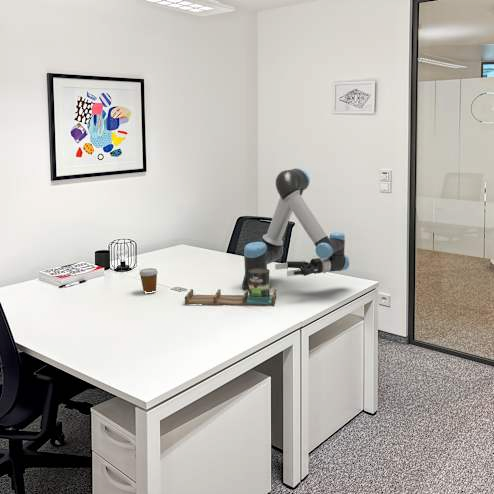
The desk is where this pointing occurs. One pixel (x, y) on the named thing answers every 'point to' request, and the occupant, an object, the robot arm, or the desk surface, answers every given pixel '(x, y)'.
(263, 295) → the coffee can
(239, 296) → the slot rack
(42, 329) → the desk surface
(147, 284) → the disposable coffee cup
